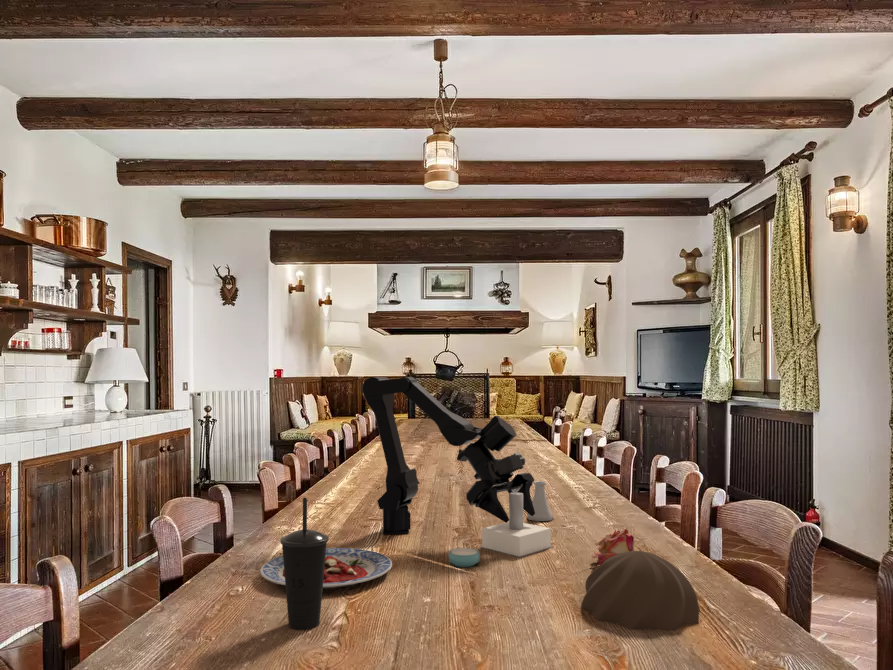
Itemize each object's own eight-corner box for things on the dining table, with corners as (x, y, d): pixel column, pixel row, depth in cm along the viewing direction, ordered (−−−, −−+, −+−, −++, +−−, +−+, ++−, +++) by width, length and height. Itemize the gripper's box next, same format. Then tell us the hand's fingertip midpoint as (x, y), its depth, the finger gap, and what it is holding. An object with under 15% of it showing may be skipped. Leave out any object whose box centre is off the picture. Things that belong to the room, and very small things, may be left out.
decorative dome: (715, 635, 104) (714, 569, 105) (584, 628, 107) (583, 564, 108) (688, 594, 124) (687, 538, 124) (578, 589, 126) (577, 535, 127)
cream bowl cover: (482, 547, 154) (481, 493, 155) (513, 538, 162) (513, 487, 162) (519, 556, 146) (519, 500, 147) (550, 547, 154) (550, 493, 154)
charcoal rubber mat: (479, 548, 154) (479, 547, 154) (513, 539, 162) (513, 537, 162) (520, 559, 145) (520, 557, 145) (553, 548, 154) (553, 547, 154)
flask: (552, 522, 180) (552, 484, 181) (525, 521, 182) (525, 483, 182) (554, 516, 187) (553, 480, 188) (527, 515, 189) (527, 479, 189)
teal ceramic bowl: (451, 570, 137) (451, 556, 138) (446, 561, 144) (446, 548, 144) (482, 569, 138) (482, 555, 138) (476, 560, 145) (476, 547, 145)
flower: (648, 556, 141) (626, 522, 144) (646, 558, 133) (622, 522, 136) (609, 580, 142) (587, 546, 146) (604, 584, 134) (582, 548, 137)
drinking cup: (283, 616, 112) (284, 494, 113) (330, 614, 113) (330, 493, 114) (275, 634, 105) (277, 503, 106) (325, 632, 105) (326, 502, 106)
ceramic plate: (278, 606, 118) (278, 589, 118) (248, 568, 140) (248, 553, 141) (413, 584, 129) (413, 568, 130) (365, 552, 152) (365, 539, 152)
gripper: (475, 445, 151) (513, 501, 143) (527, 438, 164) (565, 490, 156) (450, 476, 157) (486, 533, 148) (503, 468, 170) (539, 519, 161)
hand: (521, 518), depth 153 cm, fingers open, 9 cm apart
